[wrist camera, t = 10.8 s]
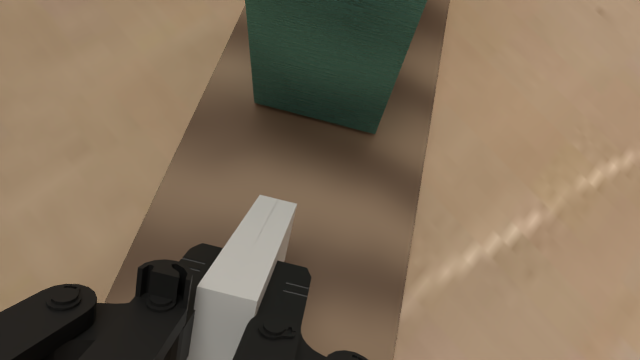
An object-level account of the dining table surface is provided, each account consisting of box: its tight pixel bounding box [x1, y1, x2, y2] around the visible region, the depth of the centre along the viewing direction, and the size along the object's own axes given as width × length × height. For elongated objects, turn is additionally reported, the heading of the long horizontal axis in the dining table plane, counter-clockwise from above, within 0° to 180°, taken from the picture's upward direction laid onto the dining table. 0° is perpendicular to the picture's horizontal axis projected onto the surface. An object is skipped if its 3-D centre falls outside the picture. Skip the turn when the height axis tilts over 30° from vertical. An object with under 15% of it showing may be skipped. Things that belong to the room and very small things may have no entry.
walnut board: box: [105, 0, 449, 360], centre depth 26 cm, size 33×13×1 cm, turn 166°
